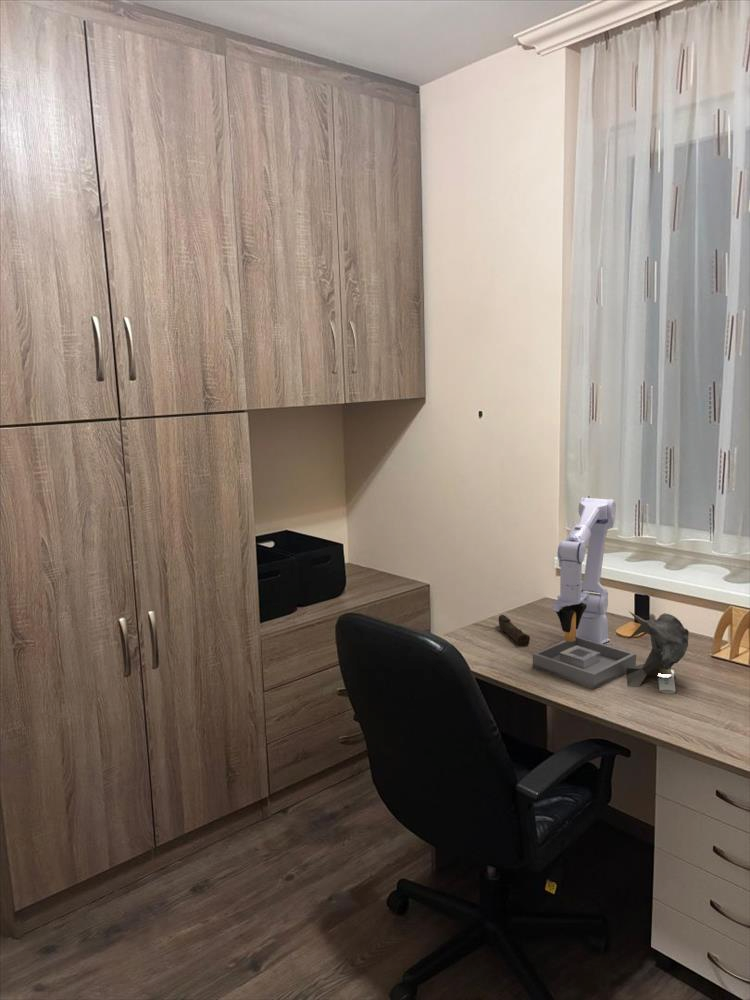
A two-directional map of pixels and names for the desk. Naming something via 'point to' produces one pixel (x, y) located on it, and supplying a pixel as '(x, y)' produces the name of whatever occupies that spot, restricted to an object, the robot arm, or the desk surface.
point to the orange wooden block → (572, 634)
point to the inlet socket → (580, 657)
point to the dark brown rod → (513, 631)
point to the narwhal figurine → (659, 647)
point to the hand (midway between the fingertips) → (570, 629)
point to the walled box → (592, 676)
